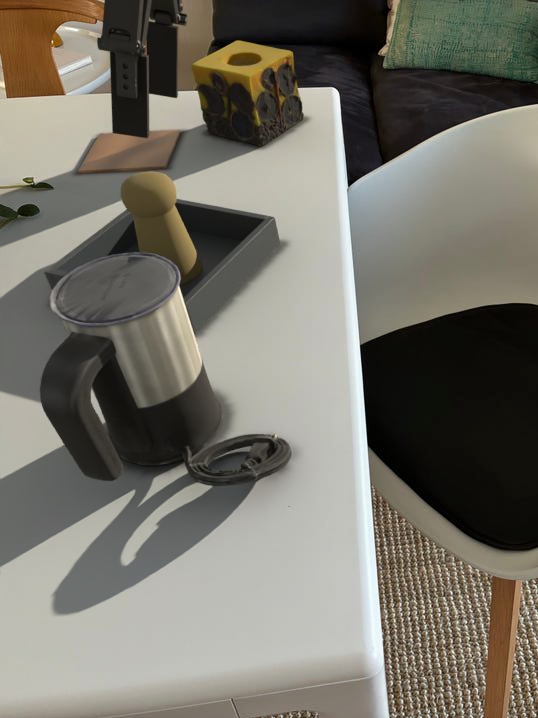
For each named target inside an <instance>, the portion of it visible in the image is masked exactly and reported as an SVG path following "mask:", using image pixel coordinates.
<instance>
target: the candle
mask: <svg viewBox="0 0 538 718" xmlns="http://www.w3.org/2000/svg"><path fill="white" fill-rule="evenodd" d="M190 67H191V71H192V74H193V76H194V77H193V78H194V82H195V84H196V91H197V94H198V99H199V101H200V102H199V104H200V110H201V111H202V115H201V116H202V120H203V122H204V123H205V125H206V131H207V133H208V134H209V135H215V136H217V137H222V138H227V139H229V140H234V141H238V142H243V143H246V144H251V145H255V146H257V147H262V146H265V145H267V144H269V143H270V142H272V141H273V140H275V139H276V138H278V137H279V136H281V135H282V134H284V133H285V132H287V131H288V130H291V128H292V127H294V126H296V125H298V124H299V123H300V122H302V121H303V120H304V118H305V117H304V116H305V114H304V112H303V102H302V99H301V95H300V92H299V87H298V82H297V80H298V76H297V74H296V70H295V62H294V52H293V51H291V50H287V49H283V48H276V47H273V46H267V45H262V44H257V43H253V42H248V41H243V40H235V41H233V42H231V43H230V44H228V45H226V46H224V47H222V48H220V49H219V50H216V51H215V52H212V53H210V54H208V55H206V56H205V57H203V58H201V59H199V60H197V61H194V62H193V63H192V64H191V65H190Z"/></svg>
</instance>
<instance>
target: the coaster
mask: <svg viewBox="0 0 538 718" xmlns="http://www.w3.org/2000/svg"><path fill="white" fill-rule="evenodd" d="M180 135H181V129H169V130H151V131H150V130H149V137H148V138H142V137H135V136H129V135H122V134H115V133H112V132H110V133H109V132H107V133H99V134H98V135H97V136H98V137H97V138H96V139H95V141H94V143H93V145H92V146H91V148H90V150H89V151H88V153H87V155H86V157H85V159H84V160H83V162H82V164H81V165H80V167H79V168H78V170H77V172H78V174H94V173H95V174H97V173H113V172H115V173H116V172H131V171H132V172H133V171H151V170H166V169H167V167H168V164H169V162H170V160H171V157H172V155H173V152H174V150H175V147H176V145H177V142H178V140H179V137H180Z"/></svg>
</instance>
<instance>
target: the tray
mask: <svg viewBox="0 0 538 718" xmlns="http://www.w3.org/2000/svg"><path fill="white" fill-rule="evenodd" d="M175 206H176V209H177V211H178V213H179V215H180V217H181V219H182V222H183V224H184V226H185V228H186V230H187V232H188V234H189V237H190V239H191V241H192V243H193V245H194V247H195V250H196V252H197V254H198V256H199V258H200V260H201V262H202V270H201V272H200V274H199V275H197V276H196V277H195V278H194V279H192V280H190V281H189V282H187V283H184V284H181V285H179V287H180V290H181V293H182V296H183V300H184V303H185V306H186V309H187V312H188V316H189V319H190V322H191V325H192V329H193V332H194V335H197V334H198V332H200V330H202V328H203V327H204V326H206V325H207V323H208V322H210V320H212V318H213V317H214V316H215V315H216V314H217V313H218V312H219V311H220V310H221V309H222V308H223V307H224V306H225V305H226V303H228V302H229V301H230V299H231V298H232V297H233V296H234V295H236V293H237V292H239V290H240V289H241V288H242V287H243V286H244V285H245V284H246V283H247V282H248V281H249V280H250V279H251V278H252V277H253V276H254V275H255V274H256V273H257V272H258V271H259V269H261V267H262V266H263V265H264V264H265V263H266V262H267V261H268V260H269V259H270V258H271V257H272V256H274V254H275V253H276V252H277V251H278V250H279V249H280V248H281V247H282V245H281V241H280V235H279V231H278V226H277V221H276V217H275V216H272V215H267V214H262V213H256V212H249V211H244V210H239V209H234V208H229V207H224V206H218V205H212V204H206V203H203V202H202V203H201V202H198V201H197V202H196V201H192V200H191V201H190V200H185V199H180V198H177V199H176V203H175ZM134 252H137V253H140V251H139V246H138V240H137V235H136V230H135V224H134V219H133V214H132V213H131V212H129V211H128V210H127V208H126V209H125V210H124V211H122V212H121V213H119V215H117V216H116V217H115V218H113V219H112V220H110V221H109V222H108V223H106V224H105V225H104V226H103V227H101V228H99V229H98V230H96V232H95V233H93V234H92V235H90V236H89V237H87V238H86V240H84V241H83V242H81V243H80V244H79V245H77V246H76V247H74V248H73V249H72V250H70V251H69V252H68V253H67V254H66V255H64V256H63V257H62V258H60V259H59V260H58V261H56V262H54V264H52V265H51V266H50V267H48V268H47V269H45V270H44V271H43V274H44V276H45V278H46V280H47V282H48V284H49V287H50V289H51V291H52V290H53V288H54V287H55V285H56V284H57V283H58V282H59V281H60V280H61V279H62V278H63V277H64V276H66V275H67V274H69V273H70V272H71V271H73V270H74V269H76V268H77V267H79V266H82V265H84V264H86V263H88V262H91V261H93V260H95V259H99V258H103V257H106V256H110V255H116V254H123V253H134Z"/></svg>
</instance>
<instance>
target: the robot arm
mask: <svg viewBox="0 0 538 718" xmlns="http://www.w3.org/2000/svg"><path fill="white" fill-rule="evenodd" d="M183 10H184V5H183V0H104V2H103V16H102V17H103V18H102V27H101V28H102V30H101V35H100V37H98V36H97V39H96V44H97V49H98V51H104V52H109V68H110V69H109V71H110V97H111V98H110V100H111V128H112V131H111V133H115V134H122V135H129V136H135V137H142V138H148V137H149V131H150V95H155V96H161V97H167V98H172V99H173V98H174V99H177V98H178V97H179V26H183V27H187V24H188V14H187V13H183ZM150 20H151V21H150Z"/></svg>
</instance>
